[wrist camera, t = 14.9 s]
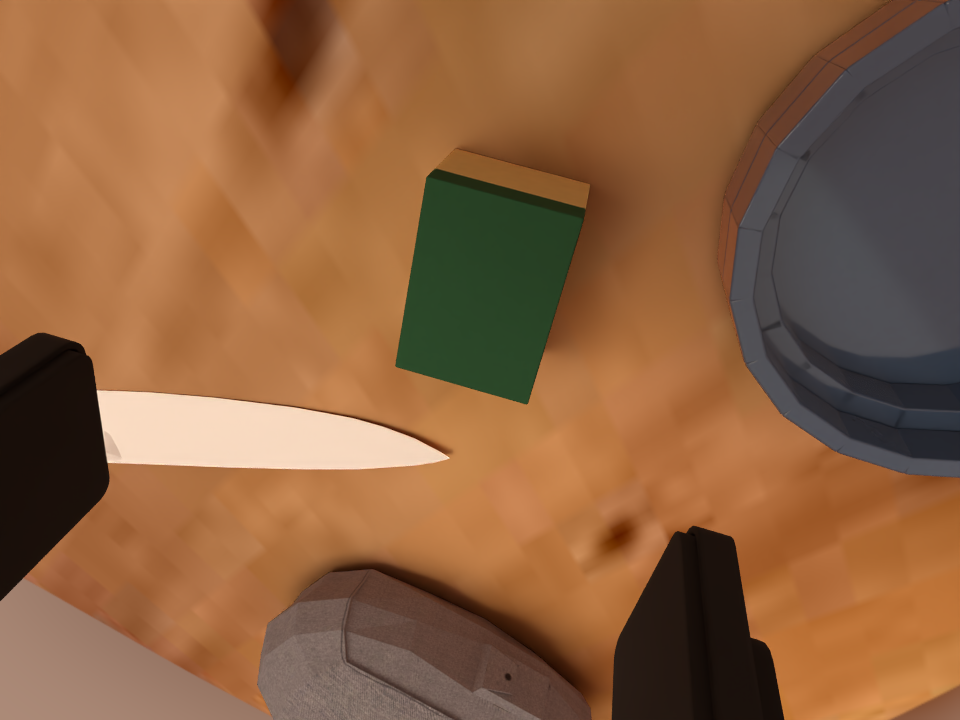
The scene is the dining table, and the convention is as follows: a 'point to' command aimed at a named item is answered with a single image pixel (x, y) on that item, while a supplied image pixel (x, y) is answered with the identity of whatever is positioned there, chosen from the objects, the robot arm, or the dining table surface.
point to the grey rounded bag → (401, 659)
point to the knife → (246, 435)
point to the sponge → (488, 272)
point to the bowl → (858, 243)
